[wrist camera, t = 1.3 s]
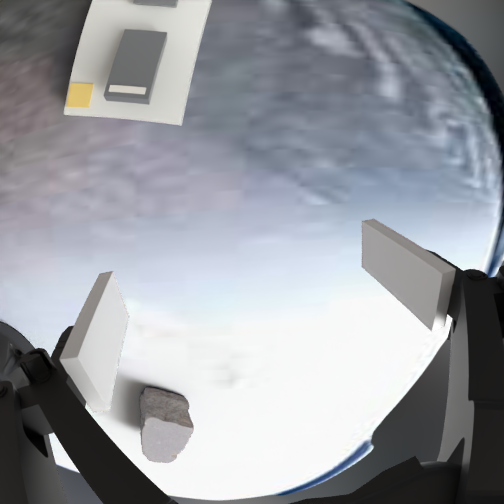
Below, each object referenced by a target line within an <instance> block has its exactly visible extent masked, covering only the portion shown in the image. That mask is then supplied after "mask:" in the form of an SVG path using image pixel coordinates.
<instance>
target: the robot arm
mask: <svg viewBox="0 0 504 504" xmlns="http://www.w3.org/2000/svg"><path fill="white" fill-rule="evenodd" d="M362 268H364V269H365V270H366V271H367V272H368V273H369V274H370V275H371V276H373V277H374V278H375V279H376V280H377V281H378V282H379V283H380V284H381V285H383V286H384V287H385V288H386V289H387V290H388V291H389V292H390V293H391V294H392V295H394V296H395V297H396V298H397V299H398V300H399V301H400V302H401V303H402V304H403V305H404V306H405V307H406V308H408V309H409V310H410V311H411V312H412V313H413V314H414V315H415V316H416V317H417V318H418V319H419V320H420V321H421V322H422V323H423V324H424V325H425V326H426V327H428V328H429V329H430V330H431V331H434V330H436V329H439V328H441V327H443V326H445V322H446V317H447V314H448V315H449V316H450V317H452V318H453V319H452V323H451V327H450V331H449V335H448V338H447V340H449V339H450V337H451V350H450V353H451V354H450V373H449V387H448V398H447V408H446V416H445V424H444V431H443V437H442V443H441V449H440V454H439V456H438V459H437V461H432V462H424V463H419V461H418V459H417V458H416V456H414V457H412V458H410V459H408V460H406V461H404V462H402V463H400V464H398V465H396V466H394V467H391V468H389V469H387V470H385V471H383V472H381V473H380V474H379V475H378V476H376V477H375V478H373V479H372V480H370V481H369V482H368V483H366V484H365V485H363V486H362V487H360V488H359V489H357V490H356V491H354V492H353V493H350V494H347V495H340V496H332V497H324V498H311V499H305V500H301V501H298V502H294V503H290V504H504V266H501V267H500V268H499V272H498V276H497V277H490V278H489V277H488V275H487V274H485V273H484V272H482V271H480V270H475V269H468V270H465V271H463V270H461V269H460V268H458V267H457V266H455V265H453V264H452V263H450V262H449V261H447V260H446V259H444V258H441V256H439V255H438V254H436V253H435V252H432V251H429V250H426V249H424V248H422V247H420V246H419V245H417V244H415V243H414V242H412V241H411V240H409V239H407V238H406V237H404V236H402V235H401V234H399V233H397V232H396V231H394V230H392V229H390V228H389V227H387V226H385V225H384V224H382V223H380V222H378V221H377V220H375V219H370V220H365V221H362ZM128 321H129V314H128V312H127V309H126V306H125V304H124V301H123V298H122V295H121V293H120V290H119V287H118V284H117V281H116V278H115V275H114V272H113V271H111V272H106V273H101V274H99V276H98V278H97V280H96V282H95V284H94V286H93V288H92V290H91V292H90V294H89V296H88V298H87V300H86V302H85V304H84V306H83V308H82V310H81V312H80V314H79V316H78V318H77V320H76V323H75V325H74V326H69V327H68V328H67V329H66V330H65V331H64V332H63V333H62V334H61V336H60V338H59V340H58V343H57V345H56V347H55V349H54V351H53V353H52V356H51V358H50V356H49V355H48V353H47V351H46V350H45V349H42V348H37V349H34V347H33V346H32V345H31V344H30V343H29V342H28V341H27V340H26V339H25V338H24V337H23V336H22V335H21V334H20V333H18V332H17V331H16V330H14V329H13V328H11V327H9V326H8V325H6V324H3V323H1V322H0V504H68V502H67V499H66V496H65V493H64V490H63V487H62V484H61V481H60V478H59V474H58V470H57V467H56V463H55V460H54V456H53V452H52V448H51V444H50V439H49V435H48V434H50V433H55V435H56V436H57V438H58V440H59V441H60V443H61V445H62V446H63V448H64V449H65V451H66V453H67V454H68V456H69V457H70V459H71V460H72V462H73V463H74V465H75V466H76V468H77V469H78V470H79V472H80V473H81V475H82V476H83V477H84V479H85V480H86V481H87V483H88V484H89V486H90V487H91V488H92V490H93V491H94V492H95V493H96V495H97V496H98V497H99V499H100V500H101V501H102V502H103V504H178V503H177V502H175V501H174V500H173V499H171V498H170V497H168V496H167V495H166V494H165V493H164V492H163V491H162V490H160V489H159V488H158V487H157V486H156V485H155V484H154V483H153V482H152V481H151V480H150V479H149V478H148V477H147V476H146V475H145V474H143V473H142V472H141V471H140V470H139V469H138V468H137V467H136V466H135V465H134V464H133V462H132V461H131V460H130V459H129V458H128V457H127V456H126V455H125V454H124V453H123V452H122V451H121V450H120V449H119V448H118V447H117V445H116V444H115V443H114V442H113V441H112V440H111V439H110V438H109V436H108V435H107V434H106V433H105V432H104V431H103V429H102V428H101V427H100V426H99V425H98V423H97V422H96V421H95V420H94V419H93V417H92V416H91V415H90V414H89V412H88V411H87V410H86V409H85V405H86V403H87V405H88V406H89V408H90V409H91V411H92V412H105V411H110V408H111V402H112V396H113V391H114V385H115V380H116V375H117V370H118V365H119V360H120V356H121V351H122V346H123V342H124V338H125V333H126V329H127V325H128Z"/></svg>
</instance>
